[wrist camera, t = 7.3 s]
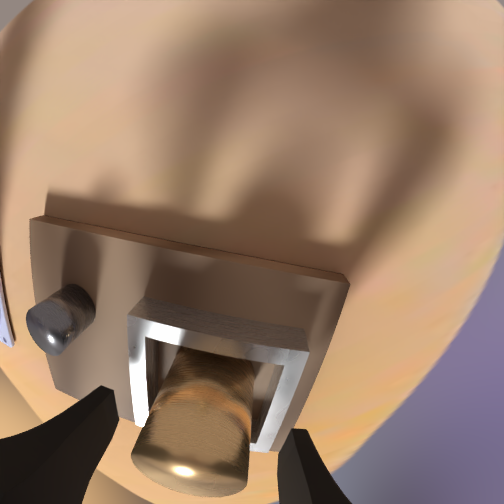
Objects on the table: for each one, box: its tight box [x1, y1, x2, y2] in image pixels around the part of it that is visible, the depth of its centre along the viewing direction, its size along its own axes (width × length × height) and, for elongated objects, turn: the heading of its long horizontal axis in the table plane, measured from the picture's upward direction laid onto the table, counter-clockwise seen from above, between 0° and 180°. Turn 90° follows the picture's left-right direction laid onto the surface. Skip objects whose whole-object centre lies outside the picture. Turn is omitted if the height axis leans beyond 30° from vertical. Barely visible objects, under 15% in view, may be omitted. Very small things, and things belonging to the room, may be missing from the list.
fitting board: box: [26, 215, 350, 453], centre depth 12 cm, size 16×12×4 cm
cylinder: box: [131, 347, 255, 497], centre depth 10 cm, size 4×4×6 cm
